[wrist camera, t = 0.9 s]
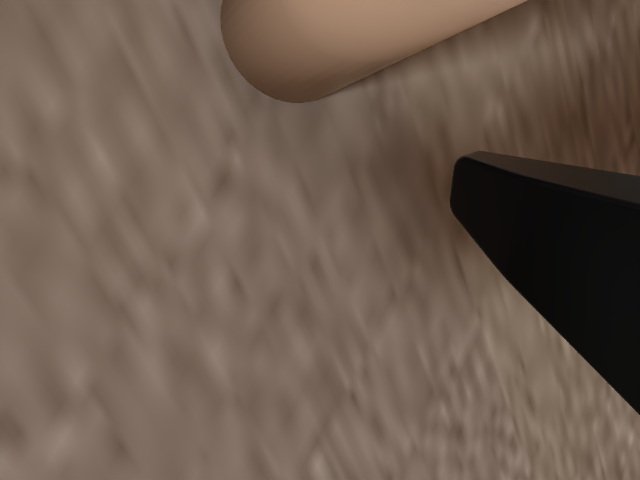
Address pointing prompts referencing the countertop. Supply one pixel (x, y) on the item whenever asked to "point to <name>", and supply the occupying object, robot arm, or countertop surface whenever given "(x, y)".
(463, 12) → the canister
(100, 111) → the countertop surface
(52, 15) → the countertop surface
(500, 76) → the countertop surface
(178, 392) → the countertop surface
